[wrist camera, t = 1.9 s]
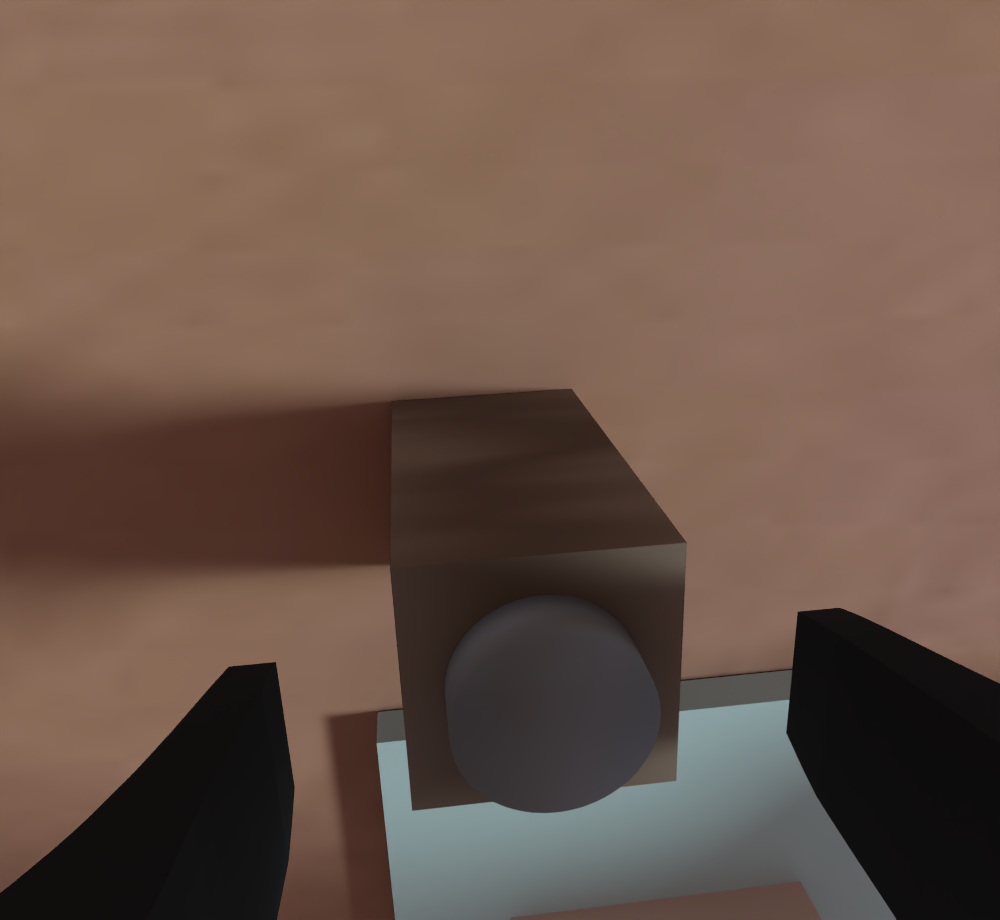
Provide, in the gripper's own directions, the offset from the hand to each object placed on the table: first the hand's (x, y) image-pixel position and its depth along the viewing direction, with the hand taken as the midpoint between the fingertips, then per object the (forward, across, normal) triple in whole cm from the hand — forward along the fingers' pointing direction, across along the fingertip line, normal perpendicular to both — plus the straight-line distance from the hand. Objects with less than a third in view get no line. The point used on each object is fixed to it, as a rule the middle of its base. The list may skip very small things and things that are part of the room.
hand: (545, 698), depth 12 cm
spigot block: (+8, 0, 0) cm, 8 cm away
